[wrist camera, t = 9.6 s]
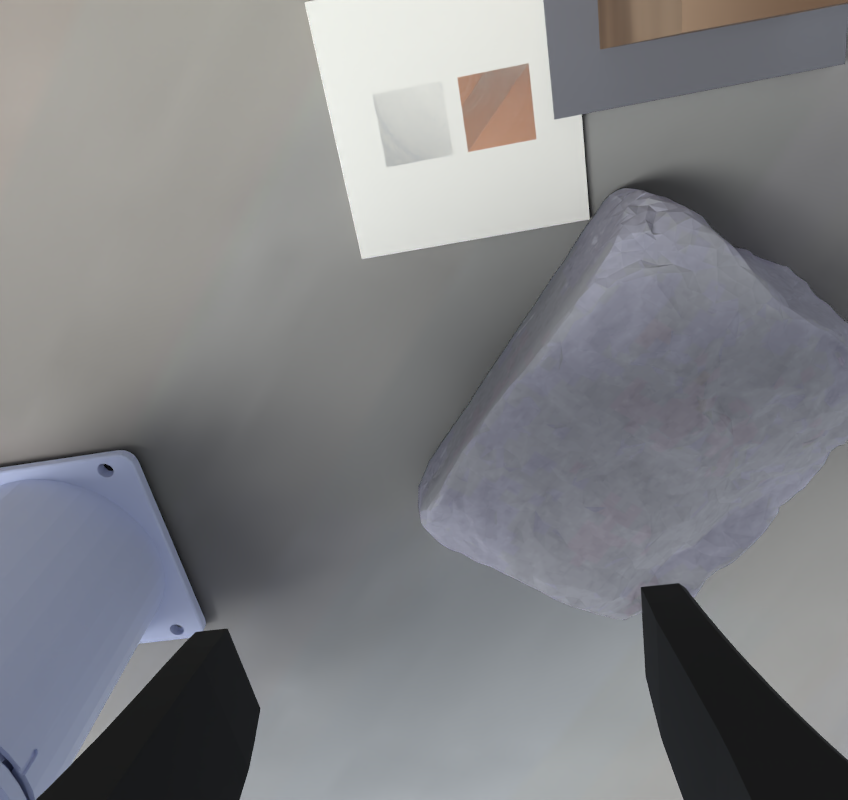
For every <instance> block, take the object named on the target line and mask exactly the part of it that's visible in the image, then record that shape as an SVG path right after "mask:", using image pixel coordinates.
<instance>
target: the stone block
mask: <svg viewBox="0 0 848 800" xmlns="http://www.w3.org/2000/svg"><path fill="white" fill-rule="evenodd" d="M847 440H848V323H847V322H845V321H844V320H843V319H842V318H841V317H840V316H839V315H838V314H836V312H835V311H834V310H833V309H832V308H831V306H830V305H829V304H827V303H826V302H824V301H823V300H821V299H820V298H818V297H817V296H816V295H815V294H814V293H813V292H812V290H811V289H810V287H809V285H808V283H807V282H806V281H804V280H802V279H801V278H799V277H798V276H796V275H795V274H794V273H793V272H792V270H791V269H790V268H788V267H787V266H782V265H779V264H776V263H774V262H771V261H768V260H765V259H762V258H759V257H758V256H755V255H753V254H752V253H751V252H750V251H749V250H747V249H741V248H734V247H733V246H732V245H731V244H730V243H728V242H727V241H726V240H725V239H724V238H722V237H721V236H720V235H719V234H718V233H716V232H715V231H714V230H713V229H712V228H711V227H710V225H709V224H708V223H707V222H706V220H705V219H704V218H703V216H701V215H699V214H698V213H696V212H694V211H692V210H690V209H688V208H687V207H685V206H684V205H680V204H678V203H676V202H674V201H672V200H670V199H669V198H666V197H662V196H658V195H655V194H652V193H648V192H646V191H644V190H638V189H630V188H623V189H620V190H617V191H615V192H613V193H612V194H610V195H609V196H608V197H607V198H606V199H605V200H604V201H603V203H602V204H601V206H600V207H599V209H598V211H597V212H596V214H595V215H594V217H593V218H592V219H591V220H590V222H589V223H588V224H587V225H586V227H585V229H584V230H583V232H582V233H581V235H580V236H579V238H578V239H577V241H576V242H575V244H574V246H573V247H572V249H571V250H570V252H569V254H568V255H567V257H566V259H565V260H564V262H563V263H562V264H561V266H560V267H559V269H558V270H557V271H556V273H555V274H554V276H553V277H552V279H551V280H550V282H549V283H548V285H547V286H546V288H545V289H544V291H543V292H542V294H541V295H540V297H539V299H538V300H537V302H536V303H535V305H534V306H533V308H532V309H531V311H530V312H529V313H528V315H527V316H526V318H525V319H524V321H523V322H522V324H521V325H520V326H519V328H518V329H517V331H516V332H515V334H514V335H513V337H512V338H511V340H510V342H509V343H508V345H507V346H506V348H505V349H504V351H503V352H502V354H501V355H500V357H499V358H498V360H497V361H496V363H495V364H494V365H493V367H492V368H491V370H490V371H489V373H488V374H487V376H486V377H485V379H484V381H483V382H482V384H481V385H480V387H479V388H478V390H477V391H476V393H475V395H474V396H473V398H472V400H471V401H470V403H469V405H468V406H467V407H466V409H465V410H464V411H463V413H462V414H461V416H460V417H459V418H458V420H457V421H456V423H455V424H454V426H453V427H452V428H451V430H450V432H449V433H448V434H447V436H446V437H445V439H444V440H443V441H442V443H441V444H440V446H439V448H438V449H437V451H436V452H435V454H434V455H433V457H432V458H431V459H430V461H429V463H428V466H427V468H426V470H425V473H424V475H423V477H422V480H421V482H420V484H419V499H418V508H419V513H420V518H421V524H422V526H423V527H424V528H425V529H426V530H427V531H428V532H429V533H430V534H431V535H432V536H433V537H434V538H435V539H436V540H437V541H438V542H439V543H440V544H442V545H443V546H445V547H446V548H448V549H450V550H452V551H456V552H460V553H462V554H464V555H466V556H467V557H469V558H471V559H472V560H474V561H475V562H477V563H480V564H484V565H487V566H490V567H493V568H495V569H496V570H498V571H500V572H502V573H503V574H506V575H508V576H510V577H512V578H514V579H516V580H518V581H520V582H522V583H524V584H525V585H528V586H530V587H532V588H535V589H536V590H538V591H540V592H542V593H544V594H546V595H548V596H550V597H551V598H553V599H555V600H557V601H559V602H562V603H564V604H566V605H569V606H571V607H574V608H578V609H582V610H585V611H589V612H591V613H594V614H598V615H603V616H607V617H610V618H614V619H622V620H626V619H628V618H630V617H633V616H635V615H637V614H639V613H642V601H641V587H645V586H655V585H665V584H675V583H679V584H681V585H682V586H684V587H685V588H686V589H687V590H688V592H689V593H690V594H691V596H692V597H693V598H694V597H695V596H696V595H697V593H698V592H699V590H700V588H701V587H702V585H703V584H704V582H705V581H706V579H707V578H709V577H710V576H711V575H712V574H713V573H715V572H716V571H717V570H719V569H721V568H723V567H726V566H728V565H729V564H731V563H733V562H734V561H735V560H736V559H737V558H738V557H740V556H741V555H742V554H743V553H744V552H745V551H746V550H747V549H748V548H749V547H751V546H752V545H753V544H754V543H755V541H756V540H757V539H758V538H759V537H760V536H761V535H762V534H763V533H764V532H765V531H766V529H767V528H768V526H769V525H770V524H771V522H772V521H773V519H774V518H775V517H776V515H777V514H778V512H779V507H780V506H781V505H783V504H784V503H786V502H787V501H789V500H790V499H791V498H792V497H793V496H794V495H795V494H796V493H797V492H799V491H800V490H802V489H804V488H805V486H806V485H807V484H808V482H809V481H810V480H811V479H812V477H813V476H814V475H815V474H816V473H817V472H818V471H819V470H820V469H821V467H822V466H823V465H824V463H825V461H826V460H827V458H828V456H829V453H830V451H832V450H833V449H834V448H836V447H837V446H839V445H842V444H845V443H846V442H847Z"/></svg>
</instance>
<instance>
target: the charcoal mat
mask: <svg viewBox="0 0 848 800" xmlns="http://www.w3.org/2000/svg"><path fill="white" fill-rule="evenodd" d="M543 3H544V14H545V25H546V35H547V46H548V57H549V68H550V79H551V89H552V100H553V111H554V119H560V118H566V117H571V116H576V115H581V114H586V113H592V112H597V111H602V110H607V109H612V108H618V107H623V106H628V105H633V104H638V103H644V102H649V101H654V100H659V99H664V98H670V97H675V96H680V95H685V94H691V93H696V92H701V91H706V90H711V89H717V88H722V87H727V86H732V85H737V84H743V83H748V82H753V81H758V80H763V79H769V78H774V77H779V76H784V75H789V74H795V73H800V72H805V71H810V70H815V69H821V68H826V67H831V66H836V65H842V64H845V55H846V42H847V29H848V4H843V5H838V6H833V7H828V8H822V9H817V10H812V11H807V12H802V13H796V14H791V15H786V16H780V17H775V18H769V19H764V20H758V21H753V22H747V23H742V24H737V25H731V26H726V27H720V28H715V29H709V30H704V31H698V32H693V33H688V34H682V35H677V36H671V37H666V38H660V39H655V40H649V41H644V42H639V43H633V44H628V45H622V46H617V47H611V48H606V49H600V40H599V19H598V0H543Z"/></svg>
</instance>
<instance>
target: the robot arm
mask: <svg viewBox="0 0 848 800" xmlns="http://www.w3.org/2000/svg"><path fill="white" fill-rule="evenodd" d="M103 464H107V465H109V466H111V467H112V469H113V471H109V470H108V469H106V468H105V467H104V465H103ZM641 601H642V619H643V637H644V654H645V672H646V679H647V683H648V687H649V691H650V695H651V699H652V703H653V707H654V711H655V715H656V719H657V723H658V727H659V731H660V735H661V738H662V741H663V744H664V747H665V750H666V752H667V755H668V758H669V761H670V763H671V766H672V769H673V772H674V775H675V777H676V780H677V783H678V786H679V788H680V791H681V794H682V797H683V799H684V800H848V760H847V759H846V758H845V757H844V756H843V755H841V754H840V753H839V752H838V751H837V750H836V749H835V748H834V747H833V746H832V745H830V744H829V743H828V742H827V741H826V740H825V739H824V738H823V737H822V736H821V735H820V734H819V733H818V732H817V731H816V730H815V729H813V728H812V727H811V726H810V725H809V724H808V723H807V722H806V721H805V720H804V719H803V718H802V717H801V716H800V715H799V714H798V713H797V712H796V711H795V710H794V709H793V708H792V707H791V706H790V705H789V704H788V703H787V702H786V701H785V700H784V699H783V698H782V697H781V696H780V695H779V694H778V693H777V692H776V691H775V690H774V689H773V688H772V687H771V686H770V685H769V684H768V683H767V682H766V681H765V680H764V679H763V678H762V676H761V675H760V674H759V673H758V672H757V671H756V670H755V669H754V668H753V667H752V666H751V665H750V664H749V663H748V662H747V661H746V660H745V658H744V657H743V656H742V655H741V654H740V653H739V652H738V651H737V650H736V648H735V647H734V646H733V645H732V644H731V643H730V642H729V640H728V639H727V638H726V637H725V636H724V635H723V634H722V632H721V631H720V630H719V629H718V628H717V627H716V625H715V624H714V623H713V622H712V621H711V619H710V618H709V617H708V616H707V615H706V613H705V612H704V611H703V610H702V608H701V607H700V606H699V605H698V603H697V602H696V601H695V600H694V598H693V597H692V596H691V594H690V593H689V592H688V590H687V589H686V588H685V587H684V586H682V585H681V584H679V583H675V584H665V585H655V586H645V587H641ZM175 624H176V625H180V626H182V627H178V626H176V625H175ZM205 625H206V621H205V618H204V616H203V613H202V611H201V608H200V606H199V604H198V601H197V599H196V597H195V594H194V592H193V589H192V587H191V585H190V582H189V580H188V578H187V575H186V573H185V570H184V568H183V566H182V563H181V561H180V559H179V556H178V554H177V551H176V549H175V547H174V544H173V542H172V540H171V537H170V535H169V532H168V530H167V528H166V525H165V523H164V521H163V518H162V516H161V513H160V511H159V509H158V506H157V504H156V502H155V499H154V497H153V494H152V492H151V490H150V487H149V485H148V483H147V480H146V478H145V475H144V473H143V471H142V468H141V466H140V464H139V461H138V460H137V458H136V457H135V456H134V455H133V454H132V453H130V452H128V451H125V450H116V451H110V452H103V453H96V454H89V455H82V456H76V457H69V458H62V459H55V460H49V461H42V462H35V463H28V464H21V465H15V466H8V467H1V468H0V800H239V799H240V796H241V793H242V790H243V787H244V783H245V780H246V777H247V773H248V770H249V766H250V761H251V756H252V751H253V746H254V741H255V736H256V730H257V724H258V719H259V713H260V707H259V704H258V702H257V699H256V697H255V695H254V692H253V690H252V687H251V685H250V682H249V680H248V677H247V675H246V673H245V670H244V668H243V665H242V663H241V660H240V658H239V655H238V653H237V651H236V648H235V646H234V643H233V641H232V638H231V636H230V633H229V631H228V629H219V630H210V631H203V630H204V628H205ZM184 638H189V639H188V640H187V641H186V642H185V643H184V645H183V646H182V647H181V648H180V649H179V650H178V651H177V652H176V653H175V654H174V655H173V656H172V657H171V659H170V660H169V661H168V662H167V663H166V664H165V665H164V666H163V667H162V669H161V670H160V671H159V672H158V673H157V674H156V675H155V676H154V677H153V678H152V680H151V681H150V682H149V683H148V684H147V685H146V686H145V687H144V688H143V690H142V691H141V692H140V693H139V694H138V695H137V696H136V697H135V698H134V699H133V700H132V701H131V703H130V704H129V705H128V706H127V707H126V708H125V709H124V710H123V711H122V712H121V713H120V714H119V716H118V717H117V718H116V719H115V720H114V721H113V722H112V723H111V724H110V725H109V726H108V727H107V729H106V730H105V731H104V732H103V733H102V734H101V735H100V736H99V737H98V738H97V739H96V740H95V741H94V742H93V743H92V744H91V745H90V746H89V747H88V748H87V749H86V750H85V751H84V752H83V753H82V754H81V755H80V756H79V757H78V758H77V759H76V760H75V761H74V759H75V757H76V755H77V753H78V752H79V750H80V748H81V746H82V744H83V743H84V741H85V739H86V737H87V735H88V734H89V732H90V730H91V728H92V727H93V725H94V723H95V721H96V719H97V718H98V716H99V714H100V712H101V710H102V709H103V707H104V705H105V703H106V701H107V700H108V698H109V696H110V694H111V692H112V691H113V689H114V687H115V685H116V683H117V682H118V680H119V678H120V676H121V675H122V673H123V671H124V669H125V667H126V666H127V664H128V662H129V660H130V658H131V657H132V655H133V653H134V651H135V649H136V648H137V646H138V644H140V643H148V642H157V641H166V640H175V639H184ZM73 761H74V762H73ZM72 762H73V763H72Z"/></svg>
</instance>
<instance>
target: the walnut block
mask: <svg viewBox="0 0 848 800" xmlns="http://www.w3.org/2000/svg"><path fill="white" fill-rule="evenodd" d="M843 4H848V0H598V19H599V40H600V49H606V48H611V47H617V46H622V45H628V44H633V43H639V42H644V41H649V40H655V39H660V38H666V37H671V36H677V35H682V34H688V33H693V32H698V31H704V30H709V29H715V28H720V27H726V26H731V25H737V24H742V23H747V22H753V21H758V20H764V19H769V18H775V17H780V16H786V15H791V14H796V13H802V12H807V11H812V10H817V9H822V8H828V7H833V6H838V5H843Z"/></svg>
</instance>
